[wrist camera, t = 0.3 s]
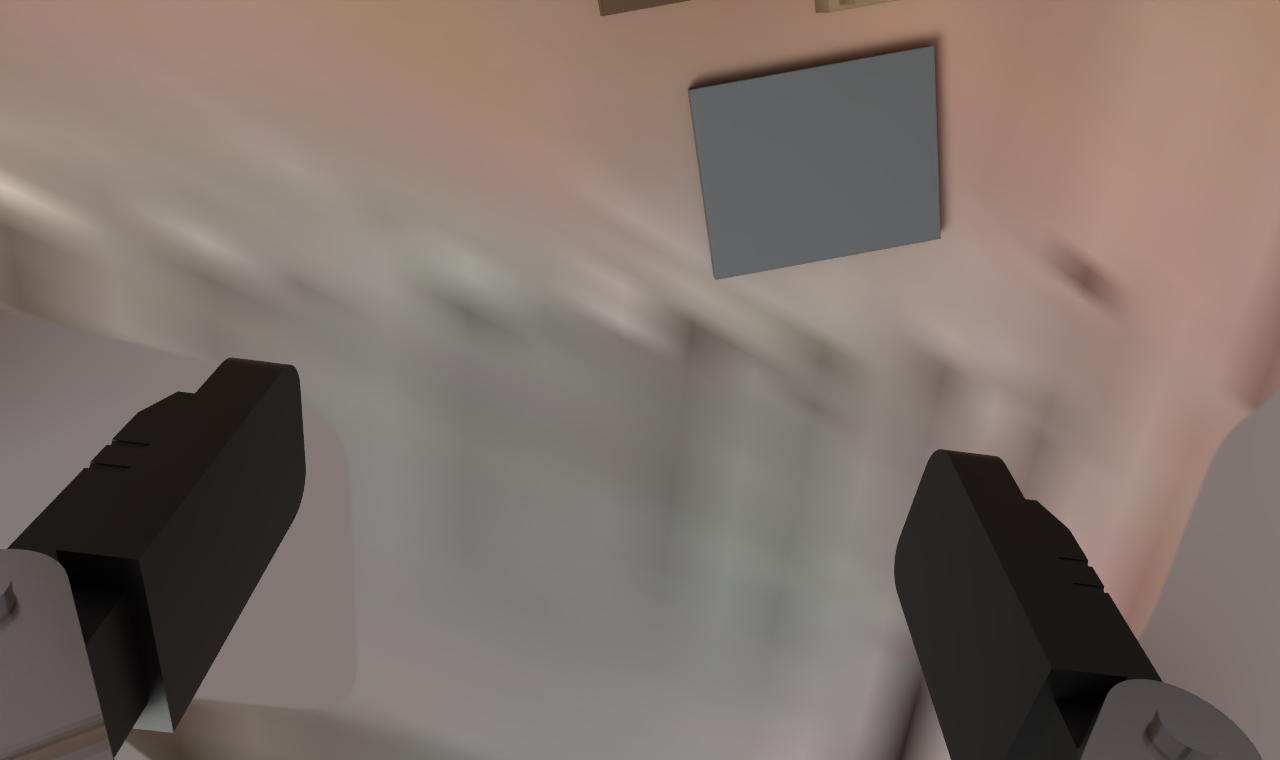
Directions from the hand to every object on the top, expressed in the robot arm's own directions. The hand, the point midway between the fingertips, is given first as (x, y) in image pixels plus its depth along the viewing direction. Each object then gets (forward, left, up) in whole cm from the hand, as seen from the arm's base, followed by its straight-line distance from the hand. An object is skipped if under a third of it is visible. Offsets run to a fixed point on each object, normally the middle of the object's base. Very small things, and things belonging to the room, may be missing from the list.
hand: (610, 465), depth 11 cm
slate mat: (+2, +10, -28) cm, 29 cm away
